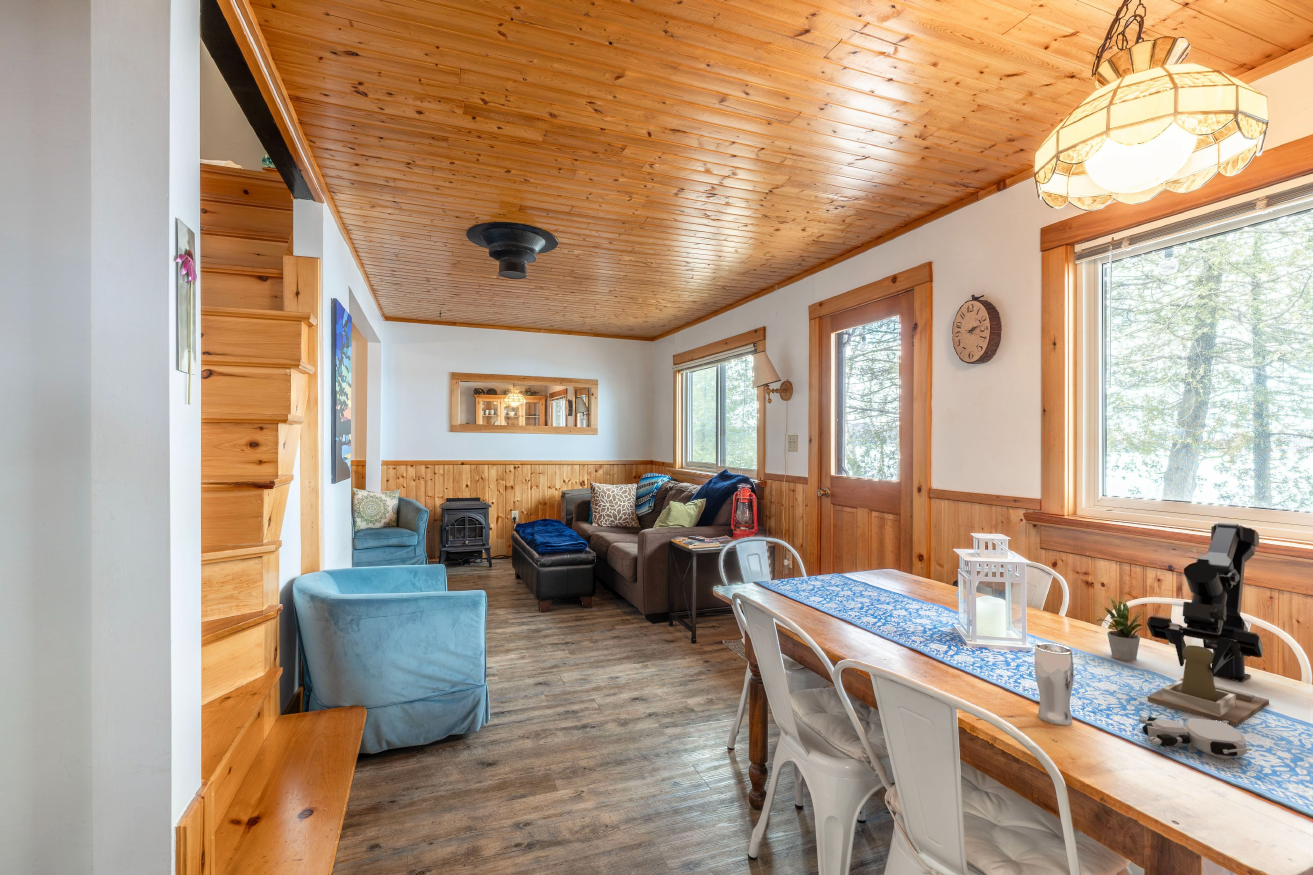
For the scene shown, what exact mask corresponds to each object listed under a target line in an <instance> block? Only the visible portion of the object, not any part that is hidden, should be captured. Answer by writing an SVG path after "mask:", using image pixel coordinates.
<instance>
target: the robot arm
mask: <svg viewBox="0 0 1313 875" xmlns="http://www.w3.org/2000/svg"><path fill="white" fill-rule="evenodd" d="M1210 541H1211V542H1210V545H1209V547H1208V549H1207V552H1206V554H1203V555H1200V556H1198V557H1197V558H1196V560H1195V562H1191V563H1190V564H1188V565H1186V566H1185V567H1184V569H1183V575H1184V577H1185V580H1186V583H1187V586H1188V589H1189V592H1190V593H1192V598H1191V601H1183V605H1182V606H1183V607H1182V617H1183V624H1185V625H1186V626H1182V625H1181V624H1179V623H1174V622H1172V619H1171V618H1170V617H1163V616H1157V615H1153V614H1152V615H1151V616H1149V617H1148V618H1147V622H1146V626H1147V627H1148V628H1147V629H1149V630H1148V631H1149V632H1150V634H1151V636H1152V637H1153V638H1155V639H1160V640H1164V641H1168V643H1170V644H1171V645H1174V646H1175V649H1176V650H1175V652H1176V655H1177V659H1178V664H1179V666H1180V667H1184V666H1185V662H1186V660H1185V659H1184V657H1183V655H1182V651H1183V648H1184V647H1185V646H1187V644H1186V641H1185V639H1184V638H1185V637H1189V638H1193V639H1194V638H1195V639H1200V640H1202V643H1203V647H1204V648H1207V649H1209V650H1212V653H1213V655H1214V659H1213V662H1212V664H1211V672H1212V674H1213V676H1215V677H1220V678H1222V679H1223V678H1224V679H1229V680H1232V681H1236V682H1241V683H1242V682H1245V681H1246V680H1248V679H1250V678H1251V676H1252V675H1251V674H1249V673H1246V668H1245V667H1246V666H1245V661H1246V660H1245V657H1247V658H1248V657H1249V658H1251V657H1252V658H1263V654H1264V646H1263V643H1262V640H1261V635H1259V634H1258V633H1257V632H1253V631H1249V628H1248V626H1247V624H1246V622H1245V620H1244V619H1243V617H1242V615H1241V611H1242V610H1241V609H1242V600H1243V599H1242V598H1243V591H1244V590H1243V589H1244V588H1243V587H1244V580H1245V579H1244V578H1245V566H1246V562H1248V560H1250V559H1251V558H1253V556H1254V555H1255V553H1256V552H1255V551H1256V547H1259V546H1260V545H1259V544H1260V535H1259V533H1258V531H1257V530H1255V529H1253V528H1252V527H1245V526H1243V525H1240V524H1238V523H1227V522H1226V523H1225V522H1218V523H1214V524H1213V526H1211V529H1210Z"/></svg>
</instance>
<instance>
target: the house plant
mask: <svg viewBox="0 0 1313 875" xmlns="http://www.w3.org/2000/svg"><path fill="white" fill-rule="evenodd" d="M1107 597H1108V598H1109V599H1110V602H1111V604H1112V607H1113V609H1114V612H1115V613H1114V612H1113V611H1112V610H1110V609H1109V608H1108V607H1106V606H1104V605H1103V603H1101V602H1100V601H1097V600H1095V599H1093V601H1095V602H1098V604H1099V603H1100V604H1101V606H1103V609H1101V610H1104V611H1106V612H1107V613H1108V614H1109V615H1110V616H1109V618H1110V620H1112V621H1113V622H1114V623H1113V622H1111V621H1109V620H1108V619H1107V620H1106V619H1104V618H1103V619H1102V618H1101V617H1100V616H1098V615H1095V614H1093V616H1096V617H1097V618H1099V619H1097V620H1096V621H1095V622H1094V623H1098V622H1102V621H1103V622H1104V623H1105V624H1106V625H1108V626H1109V630H1108V631H1107V632H1106V634H1107V638H1108V643H1109V647H1110V651H1111V652H1110V653H1111V656H1112V657H1113V658H1114V659H1117V660H1120V661H1126V662H1135V661H1137V656H1138V652H1139V646H1140V640H1141V636H1140V635H1139V634H1136V633H1137V632H1139V631H1141V630H1143V628H1139V627H1141V626H1143V624H1141V623H1138V622H1139V621H1141V619H1138V618H1140V616H1142V615H1143V614H1145V613H1148V610H1147V611H1145V612H1144V611H1143V610H1145V607H1143V608H1142V609H1140V610H1139V612H1138V613H1137V614H1136V615H1135V616H1134V617H1133V618H1132V619H1131V622H1130V623H1128V622H1129V620H1130V618H1129V615H1130V611H1129V606H1128V604H1127V602H1128V600H1126V601H1124V600H1122V598H1120V599H1119V600H1118V604H1117V603H1116V601H1115V600H1114V599H1113V598H1112V597H1111V596H1107ZM1089 600H1091V601H1092V599H1090V598H1089ZM1095 602H1094V604H1096V605H1097V603H1095ZM1117 605H1118V606H1117ZM1150 611H1151V612H1152V611H1153V610H1152V609H1151V610H1149V612H1150ZM1141 612H1142V613H1141ZM1144 621H1145V622H1146V620H1145V619H1143V622H1144ZM1108 623H1110V624H1108ZM1114 628H1115V629H1114ZM1137 628H1139V629H1137ZM1110 629H1112V630H1110ZM1147 630H1148V631H1150V630H1149V628H1147Z"/></svg>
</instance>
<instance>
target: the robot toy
mask: <svg viewBox="0 0 1313 875" xmlns="http://www.w3.org/2000/svg"><path fill="white" fill-rule="evenodd" d="M1138 722H1139V723H1141V724H1144V725H1143V726H1142V732H1143V733H1144V734H1145V735H1146V736H1148V740H1149V742H1151V743H1152V744H1155V745H1160V746H1161V747H1171V748H1175V747H1187V746H1189V745H1190V744H1191V745H1192V746H1194V747H1195V748H1196V749H1198V750H1199V751H1201V752H1203V753H1205V754H1208V755H1211V756H1214V757H1215V758H1217V757H1218V758H1217V759H1220V758H1221V759H1220V760H1229V759H1232V758H1234V759H1235V758H1236V759H1238V758H1241V757H1243V756H1245V755H1247V753H1248V752H1251V751H1253V748H1252V747H1247V742H1246V738H1245V735H1244V734H1242V733H1241V732H1240V731H1239V730H1237V729H1236V728H1235V727H1234V726H1233V725H1229V724H1226V723H1228V722H1229V721H1221V722H1220V721H1215V720H1212V719H1203V718H1190V719H1188V720H1186V721H1185V722H1184V723H1182V722H1180V721H1179V720H1174V719H1173V720H1172V719H1167V718H1166V719H1164V718H1157V717H1153V716H1148V717H1144V716H1141V717H1139V718H1138Z"/></svg>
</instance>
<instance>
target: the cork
mask: <svg viewBox="0 0 1313 875" xmlns="http://www.w3.org/2000/svg"><path fill="white" fill-rule="evenodd" d="M1182 655H1183V657H1184V659H1185V661H1184V669H1183V670H1184V671H1183V677H1182V678H1183V682H1182V689H1181V693H1183V694H1187V695H1191V696H1194V697H1198V698H1202V699H1205V700H1209V701H1213V702H1217V701H1218V700H1217V695H1216V690H1215V685H1216V684H1215V681H1214V675H1213V674H1212V672H1211V667H1212V662H1213V659H1214V655H1213V651H1211V649H1207V648H1204V646H1199V645H1193V644H1192V645H1190V644H1189V645H1186V646H1185V647H1184V648H1183V651H1182Z"/></svg>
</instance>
